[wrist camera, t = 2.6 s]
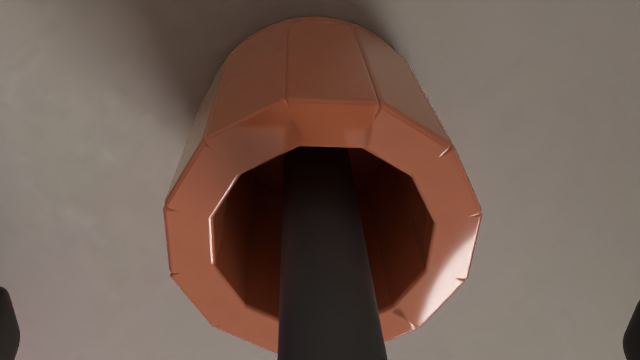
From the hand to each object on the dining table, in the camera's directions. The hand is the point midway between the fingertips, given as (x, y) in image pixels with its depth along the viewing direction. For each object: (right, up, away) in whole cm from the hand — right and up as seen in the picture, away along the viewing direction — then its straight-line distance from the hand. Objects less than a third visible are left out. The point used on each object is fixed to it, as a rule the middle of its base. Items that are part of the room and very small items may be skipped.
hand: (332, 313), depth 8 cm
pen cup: (0, +3, +6) cm, 7 cm away
